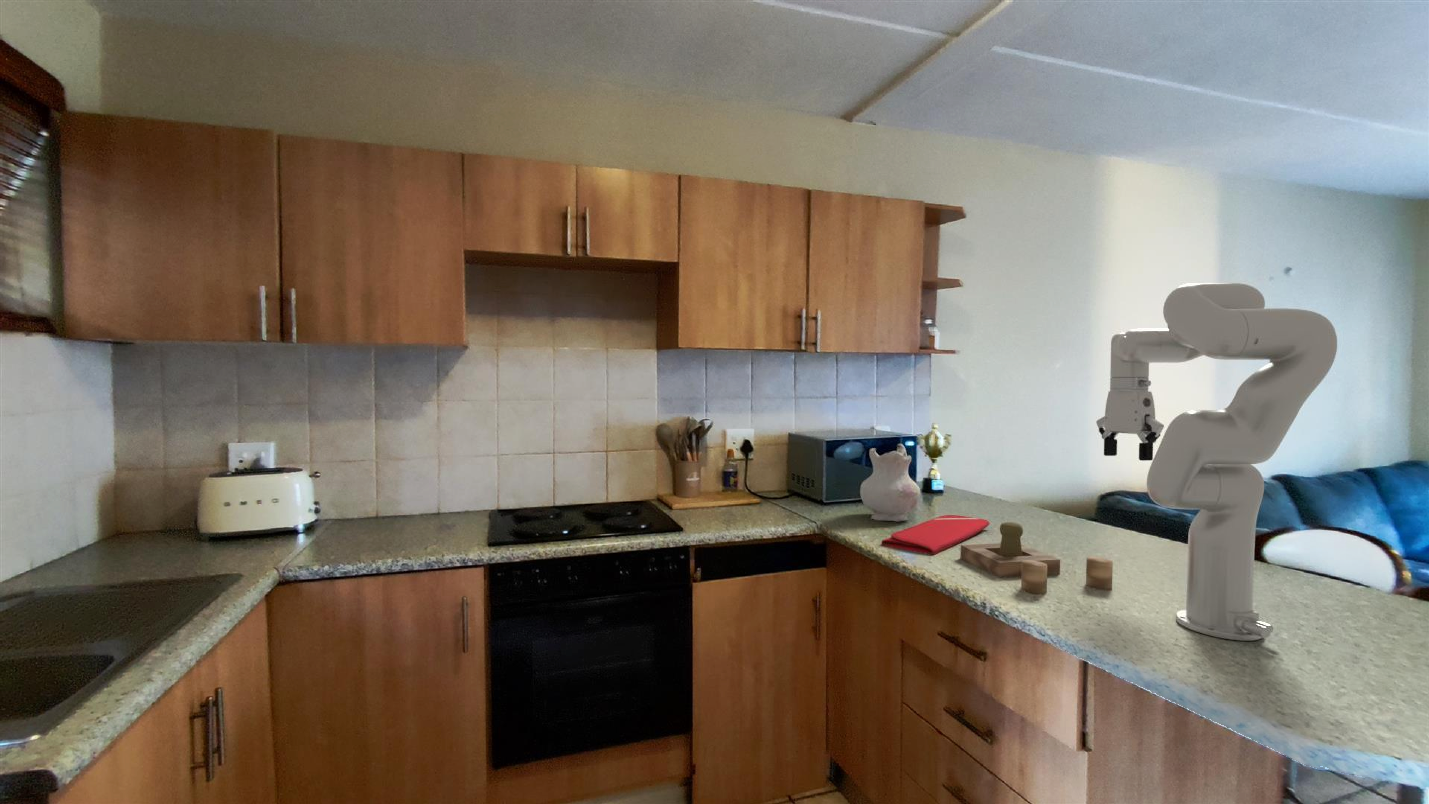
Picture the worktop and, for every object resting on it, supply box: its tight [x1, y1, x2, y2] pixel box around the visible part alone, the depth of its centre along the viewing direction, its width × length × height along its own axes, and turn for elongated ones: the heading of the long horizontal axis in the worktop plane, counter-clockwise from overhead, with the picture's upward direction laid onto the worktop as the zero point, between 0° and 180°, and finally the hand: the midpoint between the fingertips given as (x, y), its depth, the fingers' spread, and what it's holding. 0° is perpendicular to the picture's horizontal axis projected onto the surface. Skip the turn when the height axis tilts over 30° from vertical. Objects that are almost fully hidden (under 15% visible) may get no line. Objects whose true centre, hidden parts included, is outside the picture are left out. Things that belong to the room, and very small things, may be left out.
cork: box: [999, 521, 1024, 557], centre depth 152 cm, size 6×6×11 cm
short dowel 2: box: [1085, 556, 1114, 591], centre depth 138 cm, size 5×5×6 cm
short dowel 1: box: [1020, 560, 1048, 595], centre depth 135 cm, size 5×5×6 cm
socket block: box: [959, 542, 1061, 578], centre depth 154 cm, size 16×16×4 cm
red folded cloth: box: [881, 514, 990, 556], centre depth 183 cm, size 16×41×4 cm, turn 136°
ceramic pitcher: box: [859, 443, 922, 523], centre depth 209 cm, size 22×20×25 cm
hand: (1127, 457), depth 145 cm, fingers open, 9 cm apart
